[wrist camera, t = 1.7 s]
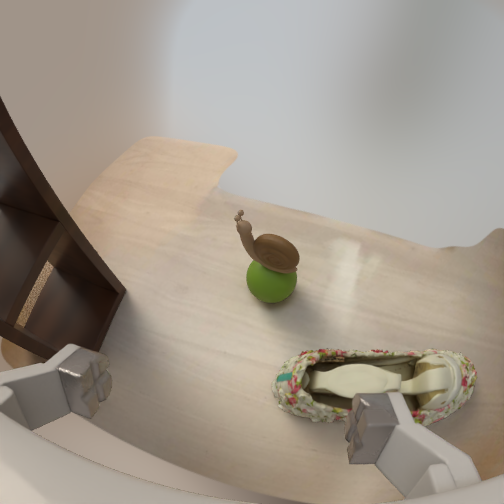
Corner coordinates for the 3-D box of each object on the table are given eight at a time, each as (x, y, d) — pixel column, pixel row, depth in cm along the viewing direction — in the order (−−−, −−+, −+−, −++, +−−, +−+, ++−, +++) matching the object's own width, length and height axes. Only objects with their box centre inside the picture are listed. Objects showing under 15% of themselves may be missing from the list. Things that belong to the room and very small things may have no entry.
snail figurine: (251, 258, 38) (249, 191, 28) (300, 277, 37) (316, 214, 26) (231, 295, 36) (221, 236, 25) (283, 317, 34) (295, 265, 24)
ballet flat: (469, 417, 26) (510, 408, 19) (267, 438, 27) (271, 444, 20) (464, 346, 31) (501, 325, 24) (272, 353, 32) (276, 333, 25)
